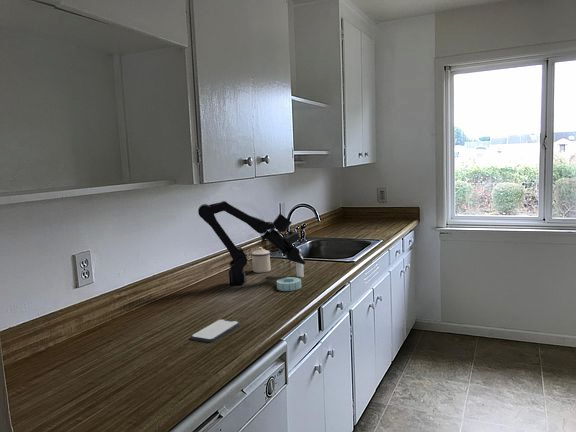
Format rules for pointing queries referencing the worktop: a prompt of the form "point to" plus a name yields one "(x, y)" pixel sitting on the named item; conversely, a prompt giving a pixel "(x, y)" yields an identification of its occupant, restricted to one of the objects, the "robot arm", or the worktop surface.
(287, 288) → the pale blue segmented ring
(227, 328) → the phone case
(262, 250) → the teacup with lid
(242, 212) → the robot arm
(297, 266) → the white rounded peg
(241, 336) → the worktop surface
